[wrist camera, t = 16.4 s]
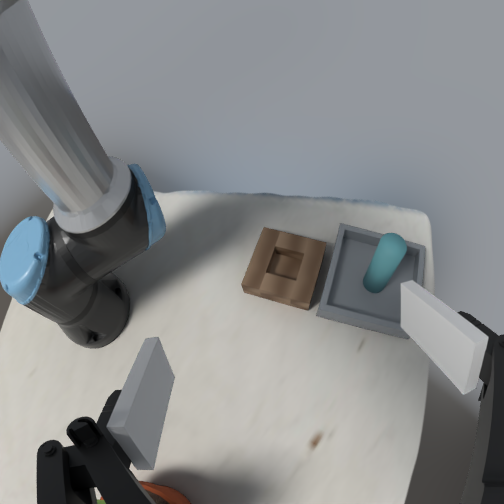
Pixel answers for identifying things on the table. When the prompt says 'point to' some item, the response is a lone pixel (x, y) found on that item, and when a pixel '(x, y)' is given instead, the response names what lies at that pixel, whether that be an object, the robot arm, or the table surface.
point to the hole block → (284, 268)
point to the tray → (353, 291)
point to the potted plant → (160, 494)
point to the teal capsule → (384, 262)
